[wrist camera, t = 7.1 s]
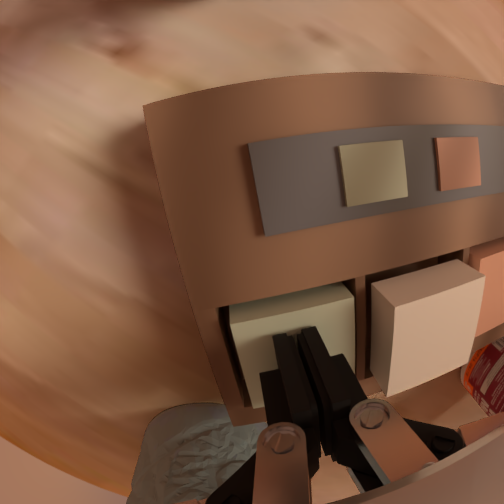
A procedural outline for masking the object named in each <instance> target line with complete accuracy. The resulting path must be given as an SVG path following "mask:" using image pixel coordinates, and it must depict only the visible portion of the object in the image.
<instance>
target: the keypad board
mask: <svg viewBox="0 0 504 504" xmlns="http://www.w3.org/2000/svg"><path fill="white" fill-rule="evenodd" d="M143 111H144V116H145V121H146V127H147V132H148V137H149V142H150V147H151V152H152V156H153V161H154V166H155V170H156V175H157V179H158V184H159V188H160V192H161V196H162V201H163V205H164V209H165V213H166V217H167V221H168V225H169V229H170V233H171V236H172V240H173V244H174V248H175V251H176V255H177V259H178V262H179V266H180V269H181V273H182V276H183V280H184V283H185V287H186V290H187V293H188V297H189V300H190V303H191V307H192V310H193V313H194V316H195V319H196V323H197V326H198V329H199V332H200V335H201V338H202V341H203V344H204V347H205V350H206V353H207V356H208V359H209V362H210V365H211V368H212V371H213V373H214V376H215V379H216V382H217V385H218V387H219V390H220V393H221V396H222V398H223V401H224V404H225V406H226V409H227V412H228V414H229V417H230V420H231V422H232V425H233V427H236V426H243V425H249V424H255V423H261V422H266V421H267V418H266V412H265V407H260V408H255V409H253V406H252V402H251V399H250V395H249V392H248V389H247V385H246V382H245V378H244V374H243V371H242V367H241V364H240V360H239V357H238V353H237V349H236V346H235V342H234V338H233V334H232V331H231V327H230V313H229V305H233V304H238V303H243V302H248V301H253V300H258V299H263V298H267V297H272V296H277V295H282V294H286V293H291V292H296V291H300V290H305V289H309V288H314V287H318V286H322V285H327V284H331V283H335V282H339V281H341V282H342V283H343V284H344V285H345V287H346V288H347V289H348V290H349V291H350V293H351V294H352V295H353V296H354V310H355V376H356V378H357V380H358V381H359V383H360V385H361V387H362V389H363V391H364V393H365V395H366V396H368V395H371V394H374V393H377V392H380V391H382V389H381V387H380V385H379V384H378V382H377V380H376V379H375V377H374V375H373V374H372V372H371V370H370V355H371V283H374V282H378V281H381V280H385V279H389V278H393V277H396V276H400V275H404V274H407V273H411V272H414V271H418V270H421V269H425V268H428V267H432V266H435V265H439V264H442V263H445V262H449V261H452V260H455V259H458V260H460V261H462V262H463V263H465V264H467V265H468V263H469V250H470V247H471V246H474V245H478V244H481V243H484V242H488V241H491V240H494V239H497V238H500V237H504V86H503V85H498V84H493V83H487V82H481V81H475V80H469V79H462V78H454V77H446V76H437V75H425V74H411V73H387V72H350V73H326V74H311V75H299V76H289V77H280V78H271V79H264V80H257V81H250V82H244V83H238V84H232V85H227V86H221V87H216V88H211V89H206V90H202V91H197V92H193V93H188V94H184V95H180V96H176V97H172V98H168V99H164V100H161V101H157V102H153V103H150V104H147V105H143ZM503 336H504V323H502V324H500V325H498V326H496V327H495V328H493V329H491V330H489V331H487V332H485V333H483V334H481V335H479V336H477V337H475V338H474V341H473V346H472V349H471V353H473V352H475V351H477V350H479V349H481V348H483V347H485V346H486V345H488V344H490V343H492V342H494V341H496V340H497V339H499V338H501V337H503ZM471 353H470V354H471Z"/></svg>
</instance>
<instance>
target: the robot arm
mask: <svg viewBox="0 0 504 504" xmlns="http://www.w3.org/2000/svg"><path fill="white" fill-rule="evenodd" d="M272 338H273V344H274V349H275V354H276V360H277V365H278V369H275V370H270V371H266V372H260V373H259V375H260V382H261V388H262V394H263V400H264V406H265V412H266V418H267V424H268V427H266V428H265V429H264V430H263V431H262V432H261V433H260V435H259V436H258V440H257V450H256V452H255V453H254V454H253V455H252V456H251V457H250V458H249V459H248V460H247V461H246V462H245V463H244V464H243V465H242V466H241V467H240V468H239V469H238V470H237V471H236V472H235V473H234V474H233V475H232V476H231V477H229V478H228V479H227V480H226V481H225V482H224V483H223V484H222V485H221V486H220V487H218V488H217V489H216V490H215V491H214V492H213V493H212V494H211V495H210V496H209V497H208V498H207V499H203V500H199V501H198V500H197V499H193V500H188V501H184V502H179V503H174V504H312V492H311V478H312V477H313V476H314V474H315V473H316V472H317V471H318V469H319V458H320V457H321V446H320V441H321V444H322V448H323V451H324V454H325V456H327V455H331V458H332V461H333V462H334V461H337V463H338V464H341V465H343V466H346V468H347V471H348V473H349V475H350V476H351V478H352V480H353V481H354V483H355V485H356V486H357V488H358V490H359V491H360V493H361V494H358V495H355V496H352V497H349V498H345V499H342V500H338V501H335V502H331V503H327V504H504V412H500V413H497V414H495V415H492V416H489V417H486V418H483V419H480V420H478V421H474V422H471V423H468V424H465V425H462V426H459V428H458V429H457V430H453V429H450V428H446V427H441V426H436V425H431V424H426V423H422V422H418V421H413V420H409V419H405V418H402V417H401V416H400V415H399V414H398V412H397V411H396V410H395V409H394V408H393V407H392V406H391V405H390V404H389V403H388V402H386V401H384V400H381V399H368V398H367V396H366V395H365V393H364V391H363V389H362V387H361V385H360V383H359V381H358V380H357V378H356V376H355V374H354V372H353V370H352V368H351V367H350V365H349V363H348V361H347V359H346V357H345V356H344V354H342V353H341V354H338V355H334V356H330V354H329V352H328V350H327V348H326V346H325V344H324V342H323V340H322V338H321V336H320V334H319V332H318V330H317V328H316V326H313V327H309V328H304V329H301V333H299V334H297V343H298V349H297V346H296V343H295V341H294V338H293V335H291V336H287V334H286V333H282V334H278V335H273V336H272ZM298 350H299V352H298Z"/></svg>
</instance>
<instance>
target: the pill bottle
mask: <svg viewBox="0 0 504 504" xmlns="http://www.w3.org/2000/svg"><path fill="white" fill-rule="evenodd" d="M461 382H462V384H463V386H464V387H465V388H466V389H467V391H468V392H469V393H470V394H471V396H472V397H473V398H474V399H475V400H476V402H477V403H478V404H479V405H480V407H481V408H482V409H483V410H484V411H485V413H486V414H487V415H488V416H492V415H495V414H497V413H500V412H504V336H503V337H501V338H499V339H497V340H496V341H494V342H492V343H490V344H488V345H486V346H485V347H483V348H481V349H479V350H477V351H475V352H473V353H471V354H470V357H469V361H468V363H466V364H464V365H462V368H461Z"/></svg>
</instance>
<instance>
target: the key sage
mask: <svg viewBox="0 0 504 504" xmlns="http://www.w3.org/2000/svg"><path fill="white" fill-rule="evenodd" d="M229 313H230V327H231V331H232V334H233V338H234V342H235V346H236V349H237V353H238V357H239V360H240V364H241V367H242V371H243V374H244V378H245V382H246V385H247V389H248V392H249V395H250V399H251V402H252V406H253V409H255V408H260V407H265V406H264V400H263V394H262V388H261V382H260V375H259V373H260V372H266V371H270V370H275V369H278V365H277V360H276V354H275V349H274V344H273V338H272V336H273V335H278V334H282V333H286V334H287V336H291V335H293V338H294V341H295V343H296V346H297V349H298V343H297V334H299V333H301V329H304V328H309V327H313V326H316V328H317V330H318V332H319V334H320V336H321V338H322V340H323V342H324V344H325V346H326V348H327V350H328V352H329V354H330V356H334V355H338V354H341V353H342V354H344V356H345V357H346V359H347V361H348V363H349V365H350V367H351V368H352V370H353V372H354V374H355V310H354V296H353V295H352V294H351V293H350V291H349V290H348V289H347V288H346V287H345V285H344V284H343V283H342V282H341V281H339V282H335V283H331V284H327V285H322V286H318V287H314V288H309V289H305V290H300V291H296V292H291V293H286V294H282V295H277V296H272V297H267V298H263V299H258V300H253V301H248V302H243V303H238V304H233V305H229ZM298 352H299V350H298Z"/></svg>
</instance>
